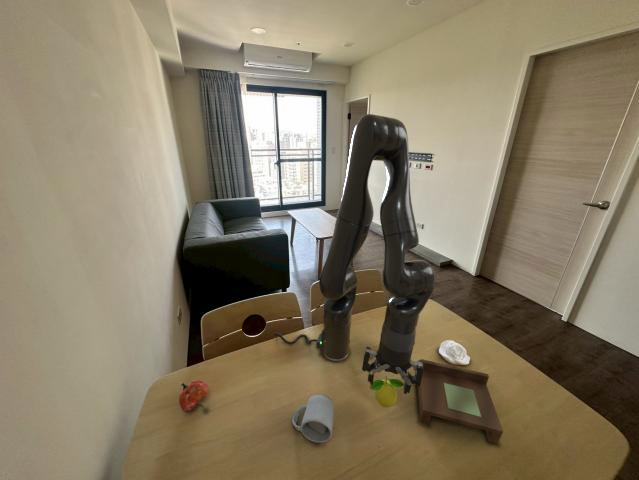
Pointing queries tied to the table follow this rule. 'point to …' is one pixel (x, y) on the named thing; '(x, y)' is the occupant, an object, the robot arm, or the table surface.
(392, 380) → the lemon
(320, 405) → the ceramic mug
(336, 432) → the table surface
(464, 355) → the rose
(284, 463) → the table surface
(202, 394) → the red rounded piece
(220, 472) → the table surface
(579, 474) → the table surface
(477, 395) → the wooden serving tray
